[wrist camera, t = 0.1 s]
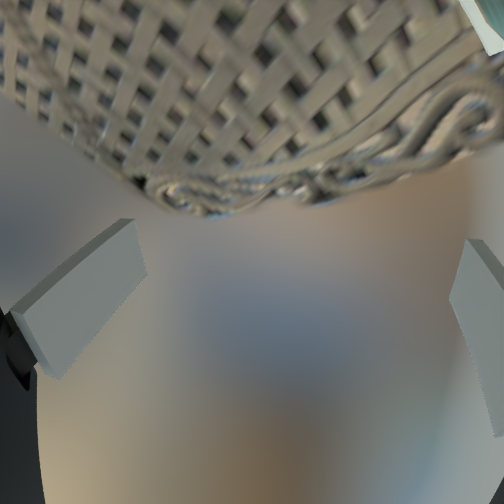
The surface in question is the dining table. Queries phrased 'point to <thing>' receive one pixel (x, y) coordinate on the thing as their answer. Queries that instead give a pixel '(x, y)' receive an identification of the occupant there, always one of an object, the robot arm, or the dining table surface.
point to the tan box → (493, 14)
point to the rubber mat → (483, 28)
